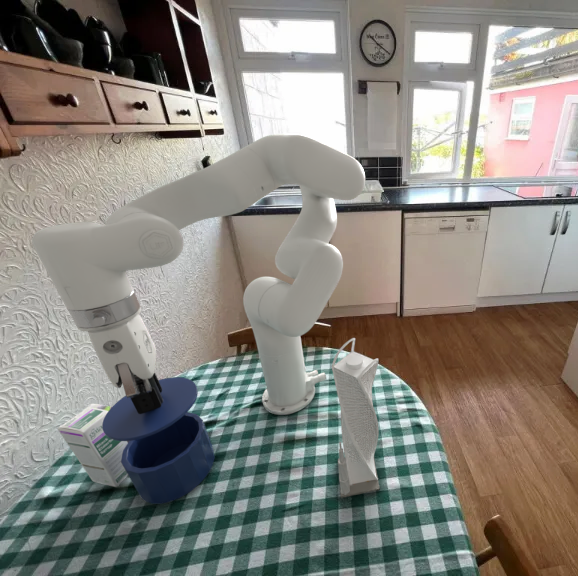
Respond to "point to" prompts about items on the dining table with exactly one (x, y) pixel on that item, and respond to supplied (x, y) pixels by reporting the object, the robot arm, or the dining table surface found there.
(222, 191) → the robot arm
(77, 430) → the syrup box
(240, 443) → the dining table surface
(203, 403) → the dining table surface
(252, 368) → the dining table surface
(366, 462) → the skyscraper
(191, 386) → the lid
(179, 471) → the pot
